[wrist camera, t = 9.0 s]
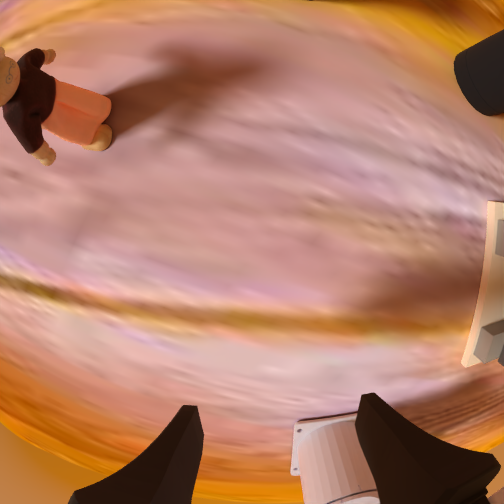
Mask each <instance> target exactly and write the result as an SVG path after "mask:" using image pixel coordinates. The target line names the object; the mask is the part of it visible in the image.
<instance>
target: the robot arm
mask: <svg viewBox="0 0 504 504" xmlns="http://www.w3.org/2000/svg"><path fill="white" fill-rule="evenodd" d="M298 429H300V430H298ZM203 440H204V433H203V429H202V425H201V421H200V416H199V412H198V408H197V406H191V405H183V406H182V407H181V408H180V410H179V411H178V412H177V414H176V415H175V417H174V418H173V419H172V420H171V422H170V423H169V424H168V426H167V427H166V428H165V429H164V430H163V431H162V433H161V434H160V435H159V436H158V437H157V438H156V439H155V440H154V441H153V442H152V443H151V444H150V445H149V447H148V448H147V449H145V450H144V451H143V452H142V453H141V454H140V455H139V456H138V457H136V458H135V459H134V460H133V461H131V462H130V463H129V464H127V465H126V466H125V467H123V468H122V469H120V470H119V471H117V472H116V473H114V474H112V475H110V476H108V477H107V478H105V479H103V480H101V481H99V482H97V483H95V484H92V485H90V486H87V487H84V488H82V489H79V490H76V491H74V493H73V495H72V496H71V498H70V500H69V502H68V504H191V500H192V494H193V489H194V485H195V481H196V477H197V473H198V469H199V465H200V460H201V456H202V450H203ZM500 468H501V465H500V464H499V462H498V461H497V460H496V458H495V457H494V456H493V454H490V453H483V452H477V451H472V450H468V449H464V448H461V447H458V446H455V445H452V444H450V443H447V442H445V441H442V440H440V439H438V438H436V437H434V436H432V435H430V434H428V433H427V432H425V431H423V430H422V429H420V428H418V427H417V426H415V425H414V424H412V423H411V422H410V421H408V420H407V419H405V418H404V417H403V416H402V415H400V414H399V413H398V412H397V411H395V410H394V409H393V408H392V407H391V406H389V405H388V404H387V403H386V402H385V401H383V400H382V399H381V398H380V397H379V396H378V395H376V394H375V393H368V394H363V395H361V400H360V404H359V409H358V413H355V414H350V415H344V416H338V417H331V418H324V419H316V420H307V421H299V422H296V423H295V424H294V434H293V448H292V460H291V471H290V472H291V475H293V476H295V475H300V477H301V484H302V491H303V498H304V504H504V487H503V488H501V489H500V490H499V491H497V492H496V493H494V494H493V495H492V496H490V497H489V498H488V499H487V497H486V496H485V495H486V494H487V493H488V491H487V489H486V486H487V485H488V484H489V483H490V482H491V481H492V480H493V479H494V477H495V476H496V475H497V474H498V472H499V471H500Z"/></svg>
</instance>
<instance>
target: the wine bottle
mask: <svg viewBox="0 0 504 504" xmlns="http://www.w3.org/2000/svg"><path fill="white" fill-rule="evenodd" d="M454 72H455V75H456V79H457V82H458V84H459V86H460V88H461V91H462V93H463V94H464V95H465V97H466V98H467V100H468V102H469V103H470V104H471V105H472V106H473V107H474V108H475V109H476V110H477V111H479V112H480V113H482V114H484V115H488V116H492V115H496V114H501V113H504V30H502V31H500V32H498V33H496V34H494V35H492V36H490V37H488V38H486V39H484V40H482V41H480V42H479V43H477V44H475V45H473V46H471V47H469V48H468V49H466V50H464V51H462V52H460V53H459V54H458V55H457V56H456V58H455V61H454Z"/></svg>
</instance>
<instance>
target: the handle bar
mask: <svg viewBox="0 0 504 504" xmlns="http://www.w3.org/2000/svg"><path fill="white" fill-rule="evenodd" d="M498 362H499V363H500V364H501V365H502V366H504V345H503V348H502V351H501V354H500V356H499V359H498Z"/></svg>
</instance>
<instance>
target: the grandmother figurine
mask: <svg viewBox="0 0 504 504" xmlns="http://www.w3.org/2000/svg"><path fill="white" fill-rule="evenodd" d="M4 53H5V50H4V49H3V48H2V47H0V107H1V106H2V107H3V117H4V119H5V121H6V122H7V124H8V126H9V127H10V129H11V130H12V132H13V133H14V135H15V136H16V138H17V139H18V141H19V142H20V143H21V145H22V146H23V147H24V149H25V150H26V151H27V152H28V153H30V154H32V155H33V156H34V157H35V158H36V159H40V162H41V163H42V164H43V165H45V166H49V165H51V164H52V163H53V162H54V161H55V159H56V153H55V151H54V150H53V149H52V148H49V145H48V143H47V142H46V141H45V140H44V138H43V136H42V129H45V130H48V131H49V132H51V133H52V134H54V135H56V136H58V137H59V138H61V139H63V140H65V141H68V142H71V143H76V144H79V145H81V146H82V147H83V148H84V149H87V150H94V151H102V150H104V149H106V148H107V147H108V146H109V145H110V143H111V139H112V130H111V128H110V127H109V126H108V125H105V124H102V125H101V123H102V122H103V121H104V120H105V119H106V118H107V117H108V115H109V114H110V110H111V101H110V99H109V98H107V97H106V96H104V95H100V94H98V93H95V92H92V91H89V90H86V89H83V88H80V87H77V86H74V85H71V84H68V83H64V82H60V81H58V80H57V79H55V78H54V77H53V76H49V75H48V74H47V73H45V72H43V71H42V70H40V68H41V67H42V65H43V64H46V65H47V64H50V63H51V62H53V60H54V59H55V56H56V53H55V51H54V50H53V49H48V50H41V49H38V48H35V49H33V50H31V51H29V52H27V53H26V54H24V55H23V56H22V57H21V58H20V59H19V60H18V62H17V63H16V62H15V61H14V60H13V59H11V58H9V57H5V54H4Z"/></svg>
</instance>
